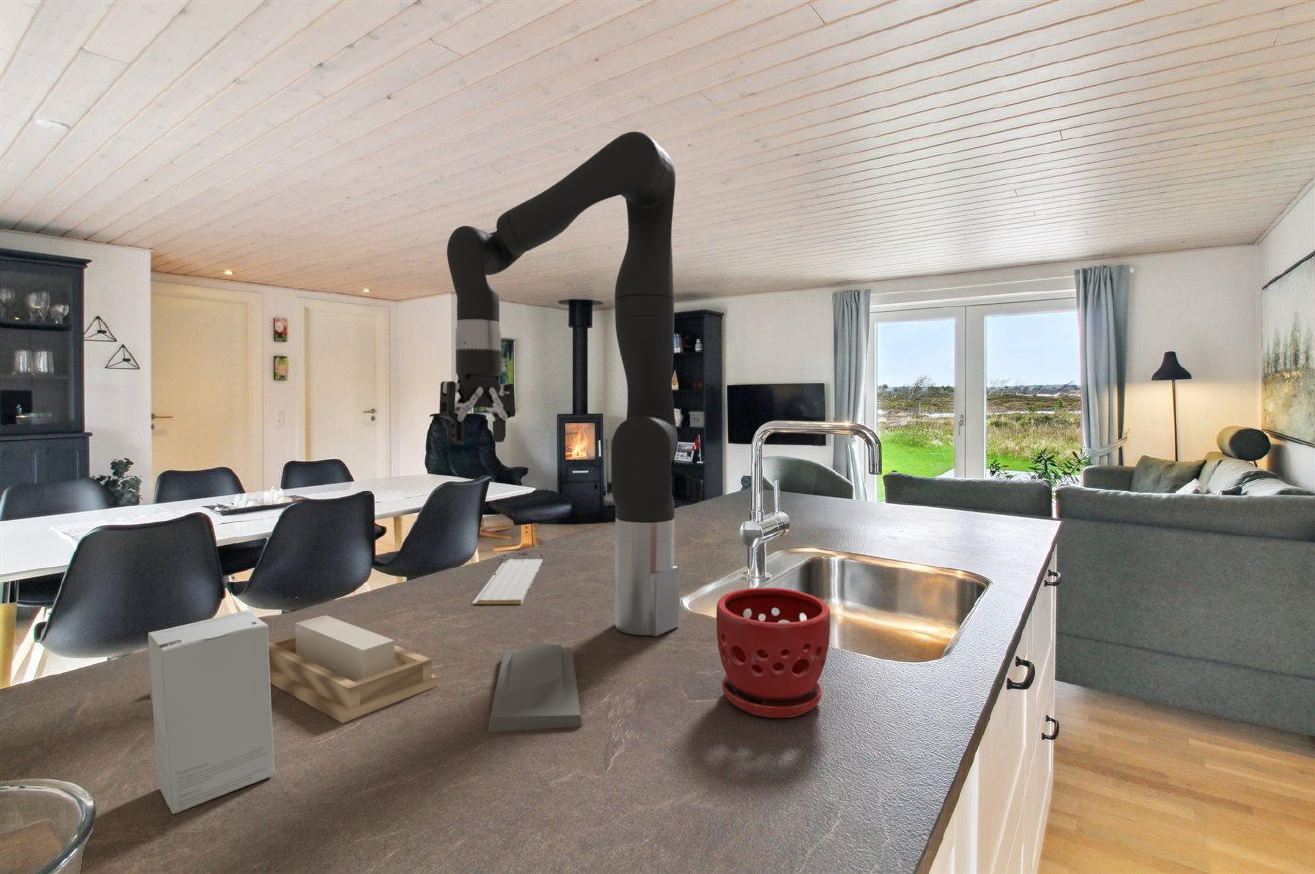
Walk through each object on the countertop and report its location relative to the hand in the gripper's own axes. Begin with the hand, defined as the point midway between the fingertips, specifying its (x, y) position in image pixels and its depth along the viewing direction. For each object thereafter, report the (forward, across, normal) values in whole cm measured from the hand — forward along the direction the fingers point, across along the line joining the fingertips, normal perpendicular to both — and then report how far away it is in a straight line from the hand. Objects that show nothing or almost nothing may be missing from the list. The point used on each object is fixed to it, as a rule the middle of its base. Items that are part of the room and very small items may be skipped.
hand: (479, 442), depth 114 cm
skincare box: (+28, -50, -25) cm, 63 cm away
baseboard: (+29, +13, +7) cm, 32 cm away
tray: (+28, -31, -12) cm, 44 cm away
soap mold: (+29, -18, -34) cm, 48 cm away
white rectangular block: (+27, -31, -12) cm, 43 cm away
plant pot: (+28, -4, -58) cm, 65 cm away
